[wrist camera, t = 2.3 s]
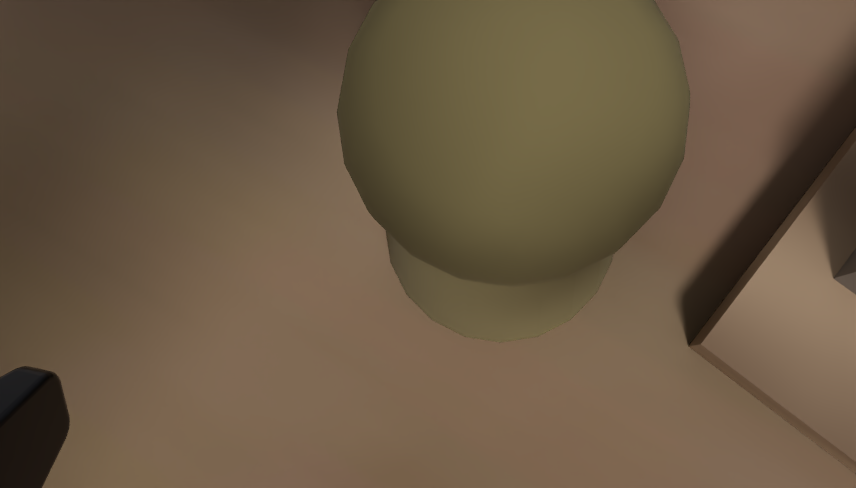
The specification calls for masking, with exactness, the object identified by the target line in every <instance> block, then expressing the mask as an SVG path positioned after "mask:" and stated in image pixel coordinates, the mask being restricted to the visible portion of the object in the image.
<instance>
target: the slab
mask: <svg viewBox="0 0 856 488" xmlns="http://www.w3.org/2000/svg"><path fill="white" fill-rule="evenodd" d="M689 347H690V348H691V349H693V350H694V351H695V352H697V353H698V354H699V355H701V356H702V357H703V358H705V359H706V360H707V361H708V362H710V363H711V364H712V365H714V366H715V367H716V368H718V369H719V370H720V371H722V372H723V373H724V374H725V375H727V376H728V377H729V378H731V379H732V380H733V381H735V382H736V383H737V384H739V385H740V386H741V387H743V388H744V389H745V390H746V391H748V392H749V393H750V394H752V395H753V396H754V397H756V398H757V399H758V400H760V401H761V402H762V403H764V404H765V405H766V406H767V407H769V408H770V409H771V410H773V411H774V412H775V413H777V414H778V415H779V416H781V417H782V418H783V419H785V420H786V421H787V422H788V423H790V424H791V425H792V426H794V427H795V428H796V429H798V430H799V431H800V432H802V433H803V434H804V435H805V436H807V437H808V438H809V439H811V440H812V441H813V442H815V443H816V444H817V445H819V446H820V447H821V448H823V449H824V450H825V451H826V452H828V453H829V454H830V455H832V456H833V457H834V458H836V459H837V460H838V461H840V462H841V463H842V464H844V465H845V466H846V467H847V468H849V469H850V470H851V471H853V472H854V473H855V474H856V127H855V129H854V130H853V131H852V133H851V134H850V135H849V136H848V138H847V139H846V140H845V142H844V143H843V144H842V146H841V147H840V148H839V150H838V151H837V152H836V154H835V155H834V156H833V157H832V159H831V160H830V161H829V163H828V164H827V165H826V167H825V168H824V169H823V171H822V172H821V173H820V174H819V176H818V177H817V178H816V180H815V181H814V182H813V184H812V185H811V186H810V188H809V189H808V190H807V192H806V193H805V194H804V195H803V197H802V198H801V199H800V201H799V202H798V203H797V205H796V206H795V207H794V209H793V210H792V211H791V213H790V214H789V215H788V216H787V218H786V219H785V220H784V222H783V223H782V224H781V226H780V227H779V228H778V230H777V231H776V232H775V233H774V235H773V236H772V237H771V239H770V240H769V241H768V243H767V244H766V245H765V247H764V248H763V249H762V251H761V252H760V253H759V254H758V256H757V257H756V258H755V260H754V261H753V262H752V264H751V265H750V266H749V268H748V269H747V270H746V272H745V273H744V274H743V275H742V277H741V278H740V279H739V281H738V282H737V283H736V285H735V286H734V287H733V289H732V290H731V291H730V292H729V294H728V295H727V296H726V298H725V299H724V300H723V302H722V303H721V304H720V306H719V307H718V308H717V310H716V311H715V312H714V313H713V315H712V316H711V317H710V319H709V320H708V321H707V323H706V324H705V325H704V327H703V328H702V329H701V330H700V332H699V333H698V334H697V336H696V337H695V338H694V340H693V341H692V342H691V344H690V345H689Z"/></svg>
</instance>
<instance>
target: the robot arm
mask: <svg viewBox="0 0 856 488" xmlns="http://www.w3.org/2000/svg"><path fill="white" fill-rule="evenodd" d="M69 422H70V419H69V413H68V409H67V405H66V401H65V397H64V393H63V389H62V385H61V381H60V379H59V377H58V376H57V375H56V374H55V373H54V372H51V371H47V370H42V369H38V368H33V367H26V366H25V367H20V368H17V369H15V370H12V371H11V372H9V373H7V374H5V375H3V376H2V377H0V488H42V486H43V484H44V482H45V480H46V478H47V476H48V474H49V472H50V470H51V468H52V466H53V464H54V462H55V460H56V457H57V455H58V453H59V451H60V449H61V447H62V445H63V443H64V441H65V439H66V436H67V433H68V430H69Z"/></svg>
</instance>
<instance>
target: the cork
mask: <svg viewBox="0 0 856 488" xmlns="http://www.w3.org/2000/svg"><path fill="white" fill-rule="evenodd" d="M689 108H690V90H689V85H688V81H687V76H686V72H685V67H684V63H683V58H682V54H681V50H680V45H679V41H678V39H677V37H676V36H675V34H674V32H673V31H672V29H671V27H670V26H669V24H668V22H667V21H666V19H665V17H664V16H663V14H662V13H661V11H660V9H659V8H658V6H657V4H656V3H655V1H654V0H377V1H376V2H375V3H373V5H372V7H371V9H370V11H369V12H368V14H367V16H366V18H365V20H364V22H363V23H362V25H361V27H360V29H359V31H358V33H357V34H356V36H355V38H354V40H353V42H352V44H351V45H350V47H349V49H348V55H347V60H346V65H345V71H344V76H343V82H342V87H341V93H340V98H339V104H338V109H337V116H338V123H339V130H340V137H341V144H342V151H343V158H344V164H345V166H346V168H347V170H348V172H349V174H350V176H351V178H352V180H353V182H354V184H355V186H356V188H357V190H358V192H359V194H360V196H361V198H362V200H363V202H364V204H365V206H366V208H367V210H368V212H369V213H370V214H371V215H372V217H373V218H374V219H375V220H376V221H377V222H378V223H379V224H380V225H381V226H382V227H383V228H384V229H385V230H386V234H387V241H388V248H389V254H390V261H391V264H392V266H393V268H394V270H395V272H396V274H397V276H398V278H399V280H400V282H401V284H402V286H403V288H404V290H405V292H406V294H407V295H408V296H409V297H410V298H411V299H412V300H413V301H414V302H415V303H416V304H417V305H418V306H419V307H420V308H421V309H422V310H423V311H424V312H425V313H426V314H427V315H428V316H429V317H430V318H431V319H432V320H433V321H435V322H437V323H439V324H441V325H443V326H445V327H447V328H449V329H451V330H453V331H455V332H456V333H458V334H460V335H462V336H464V337H470V338H476V339H482V340H489V341H495V342H507V341H514V340H520V339H526V338H532V337H538V336H540V335H542V334H544V333H546V332H548V331H550V330H552V329H553V328H555V327H557V326H559V325H561V324H563V323H565V322H567V321H569V320H571V319H572V318H573V317H574V316H575V315H576V314H577V313H578V312H579V310H580V309H581V308H582V307H583V306H584V305H585V304H586V303H587V302H588V301H589V300H590V299H591V298H592V297H593V296H594V295H595V294H596V293H597V290H598V288H599V286H600V284H601V282H602V280H603V278H604V276H605V274H606V272H607V270H608V268H609V266H610V264H611V262H612V256H613V254H614V253H615V252H616V251H618V250H619V249H620V248H621V247H622V246H623V245H624V244H625V243H626V242H627V241H628V240H629V239H630V238H631V237H632V236H633V235H634V234H635V233H636V232H637V231H638V230H639V229H640V228H641V227H642V226H643V225H644V224H645V223H646V222H647V221H648V219H649V218H650V217H651V216H652V215H653V214H654V213H655V212H656V211H657V210H658V209H659V208H660V207H661V205H662V203H663V200H664V198H665V196H666V194H667V192H668V190H669V188H670V186H671V184H672V182H673V180H674V178H675V175H676V173H677V171H678V169H679V167H680V165H681V163H682V161H683V159H684V152H685V143H686V134H687V126H688V117H689Z"/></svg>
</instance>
